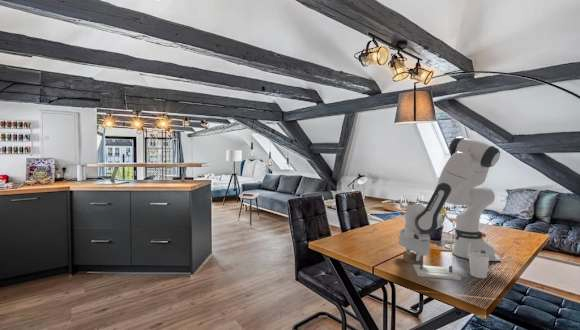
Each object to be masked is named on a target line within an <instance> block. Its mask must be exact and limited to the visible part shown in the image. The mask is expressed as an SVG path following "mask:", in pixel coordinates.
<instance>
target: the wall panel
mask: <svg viewBox="0 0 580 330" xmlns="http://www.w3.org/2000/svg"><path fill="white" fill-rule="evenodd" d="M412 264H413V268H414V271H415V272H416V275H417V277H424V278H425V277H426V278H435V279H445V280H454V281H455V280H456V281H461V280H462V277H461V276H460V275H459V274H458V273H457V271H456V270H455V268H453V266H452V265H449V266H436V265H435V266H434V265H425V264H423V263H419V264H415V263H412Z"/></svg>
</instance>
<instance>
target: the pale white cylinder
mask: <svg viewBox="0 0 580 330" xmlns="http://www.w3.org/2000/svg"><path fill="white" fill-rule="evenodd" d="M468 261H469V262H468V263H469V275H470V276H471V277H474V278H477V279H487V277H488V273H489V272H488V271H489V262H490V261H489V256H488V255H487V254H484V253H479V252H470V253H469V259H468Z"/></svg>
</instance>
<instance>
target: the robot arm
mask: <svg viewBox="0 0 580 330" xmlns="http://www.w3.org/2000/svg"><path fill="white" fill-rule="evenodd" d="M448 153H449V154H450V157H449V158H448V160H447V161H446V163H445V165H444V167H443V168H442V170H441V172H440V176H439V178H438V181H437V184H436V186H435V188H434V191H433V193H432V195H431V197H430V199H429V201H428V203H427V205H424V204H423V203H422V202H409V203H407V204H406V206H405V211H404V220H405V224H404V228H402V229H401V230H400V233H399V235H398V245H399V246H401V247H403V248H405V252H416V254H417V255H416V257H415V260H416V261H419V257H420V256H421V255H423V257H424V256H425V257H426V256H429V255H430V254H431V243H430V242H431V241H430V240H431V236H430V235H431V234H433V233H434V232H436V230H437V229H439V228H441V226H442V225H444V217H443V215H442V214H441V211H442V209H443V207H444V206H445V204H449V205H453V206H466V208H465V209H464V210H462V211H460V212H459V213H457V214H456V217H455V228H454V243H453V248H452V251H451V253H452V255H454V256H455V257H459V258H460V257H461V258H463V259H467V260H469V253H470V252H479V253H484V254H487V255H488V256H489V262H492V261H493V262H500V261H501V257H500V256H499V255H498V254H496V251H495V248H494V246H493V244H491V243H489V242H488V241H487V240H486V239H484V238H486V236H487V234H486V233H484V232H482V231H480V221H481V216H482V214H483V212H484V211H485V210H486V208H488V207H489V206H490V205H492V204H493V203H494V202H495V198H496V195H495V192H494V190H492V188H491V187H487V186H480V185H483V184H484V183H485V181H486V178H487V176H488V172H489V169H490V168H492V167H494V166H495V165H496V164H497V163H498V162H499V160H500V157H501V151H500V149H499V148H498V147H496V146H495V145H490V144H489V143H488V144H487V143H486V142H483V141H482V140H481V141H480V140H477V139H472V138H468V137H465V136H456V137H454V138H453V139H452V140H451V142H450V144H449V146H448Z"/></svg>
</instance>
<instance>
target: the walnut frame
mask: <svg viewBox="0 0 580 330" xmlns="http://www.w3.org/2000/svg"><path fill="white" fill-rule="evenodd" d="M402 255H403V256H402V261H404V263H405V264H420V263H421V264H423V263H424V256H423V255H421V256H420V257H419V261H416V260H415V257H416V255H417V254H416V252H414V251H410V252H406V251H404V252H403V253H402Z"/></svg>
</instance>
